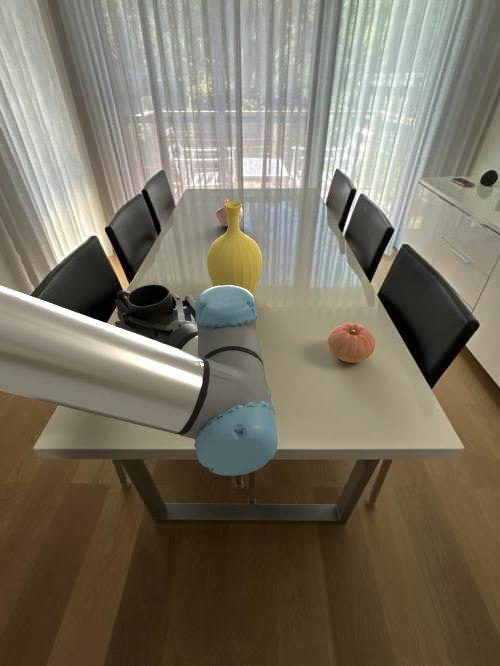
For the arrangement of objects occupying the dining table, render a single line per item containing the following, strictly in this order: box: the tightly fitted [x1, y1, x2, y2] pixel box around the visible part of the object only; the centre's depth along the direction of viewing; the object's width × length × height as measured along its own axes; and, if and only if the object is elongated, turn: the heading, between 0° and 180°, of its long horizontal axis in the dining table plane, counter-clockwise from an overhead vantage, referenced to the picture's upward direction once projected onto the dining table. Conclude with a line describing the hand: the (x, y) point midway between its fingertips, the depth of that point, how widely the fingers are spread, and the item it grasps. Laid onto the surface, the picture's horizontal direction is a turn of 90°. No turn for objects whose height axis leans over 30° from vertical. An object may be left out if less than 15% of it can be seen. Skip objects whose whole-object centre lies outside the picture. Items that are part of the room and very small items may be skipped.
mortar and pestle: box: [215, 199, 244, 228], centre depth 151 cm, size 12×12×11 cm
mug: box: [116, 283, 174, 340], centre depth 68 cm, size 8×12×10 cm
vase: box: [206, 201, 263, 296], centre depth 96 cm, size 16×16×28 cm
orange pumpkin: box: [327, 322, 376, 364], centre depth 80 cm, size 11×11×8 cm
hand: (139, 297), depth 70 cm, fingers closed on mug, 8 cm apart
